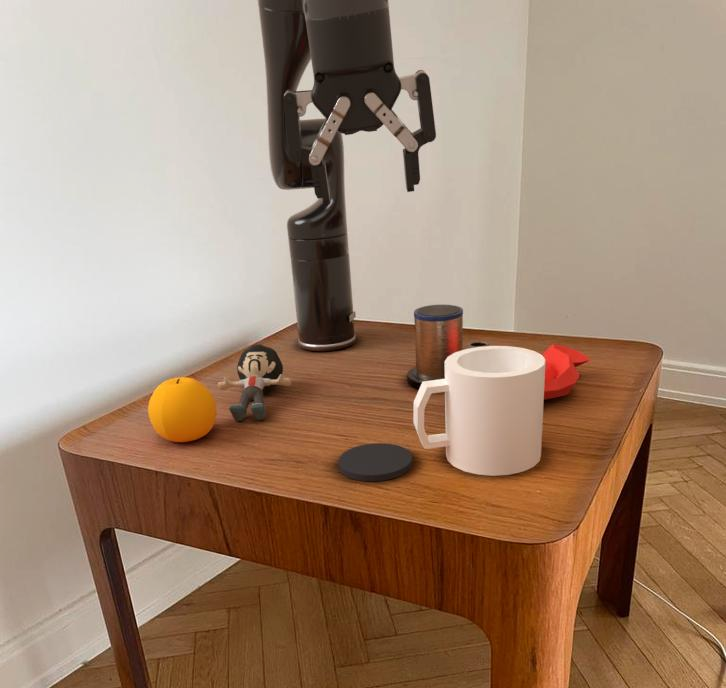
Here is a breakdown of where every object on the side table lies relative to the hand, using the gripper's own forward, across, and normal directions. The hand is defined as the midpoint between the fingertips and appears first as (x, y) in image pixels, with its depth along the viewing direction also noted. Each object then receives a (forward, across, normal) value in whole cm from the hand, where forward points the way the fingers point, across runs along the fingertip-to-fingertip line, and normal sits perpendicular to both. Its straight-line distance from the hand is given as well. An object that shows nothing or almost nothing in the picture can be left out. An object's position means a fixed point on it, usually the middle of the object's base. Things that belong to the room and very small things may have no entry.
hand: (368, 195), depth 76 cm
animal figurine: (+30, -19, -8) cm, 36 cm away
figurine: (+28, +18, -10) cm, 34 cm away
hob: (+29, -7, -14) cm, 33 cm away
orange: (+26, +25, 0) cm, 36 cm away
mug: (+26, -9, +11) cm, 30 cm away
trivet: (+25, +3, +12) cm, 28 cm away
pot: (+28, -7, -14) cm, 32 cm away
